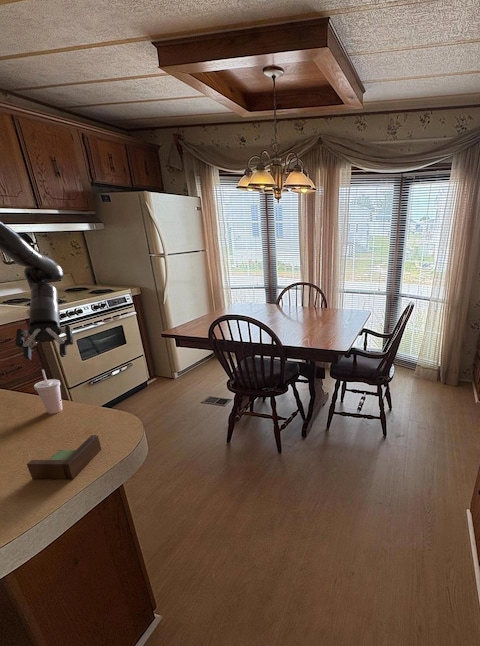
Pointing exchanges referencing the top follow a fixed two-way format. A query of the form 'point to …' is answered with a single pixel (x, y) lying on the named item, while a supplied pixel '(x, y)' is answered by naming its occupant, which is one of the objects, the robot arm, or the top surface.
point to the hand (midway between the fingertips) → (45, 357)
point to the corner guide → (65, 462)
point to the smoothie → (50, 394)
